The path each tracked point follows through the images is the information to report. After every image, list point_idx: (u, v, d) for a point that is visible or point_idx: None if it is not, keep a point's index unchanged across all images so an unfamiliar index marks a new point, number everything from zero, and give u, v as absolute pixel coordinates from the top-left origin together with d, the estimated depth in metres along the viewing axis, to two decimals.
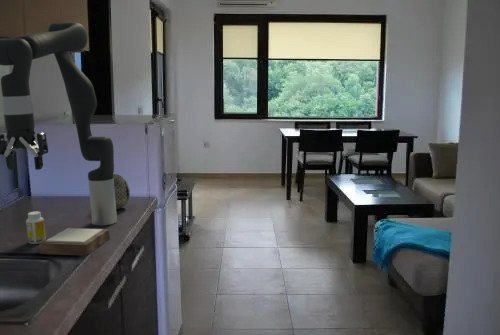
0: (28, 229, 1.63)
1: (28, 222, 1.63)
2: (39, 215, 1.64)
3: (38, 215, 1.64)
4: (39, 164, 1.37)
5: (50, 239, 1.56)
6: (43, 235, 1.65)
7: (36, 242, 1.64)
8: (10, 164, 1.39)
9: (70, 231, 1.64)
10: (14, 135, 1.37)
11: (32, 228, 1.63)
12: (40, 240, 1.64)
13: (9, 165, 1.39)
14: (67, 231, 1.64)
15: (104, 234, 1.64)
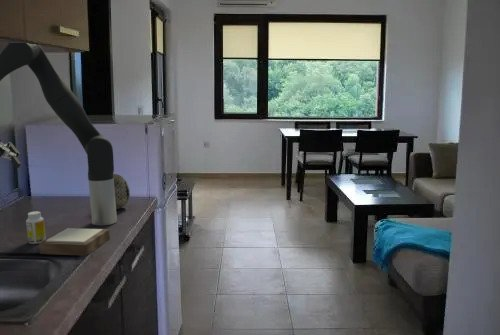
0: (28, 229, 1.63)
1: (28, 222, 1.63)
2: (39, 215, 1.64)
3: (38, 215, 1.64)
4: None
5: (50, 239, 1.56)
6: (43, 235, 1.65)
7: (36, 242, 1.64)
8: (14, 164, 1.71)
9: (70, 231, 1.64)
10: None
11: (32, 228, 1.63)
12: (40, 240, 1.64)
13: None
14: (67, 231, 1.64)
15: (104, 234, 1.64)
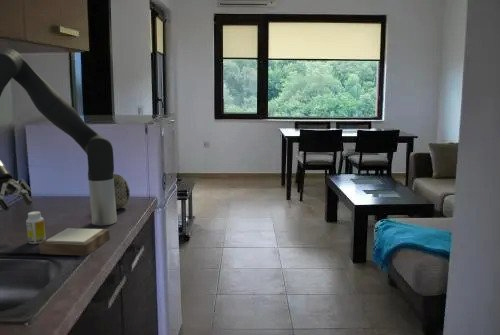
0: (28, 229, 1.63)
1: (28, 222, 1.63)
2: (39, 215, 1.64)
3: (38, 215, 1.64)
4: None
5: (50, 239, 1.56)
6: (43, 235, 1.65)
7: (36, 242, 1.64)
8: None
9: (70, 231, 1.64)
10: None
11: (32, 228, 1.63)
12: (40, 240, 1.64)
13: None
14: (67, 231, 1.64)
15: (104, 234, 1.64)
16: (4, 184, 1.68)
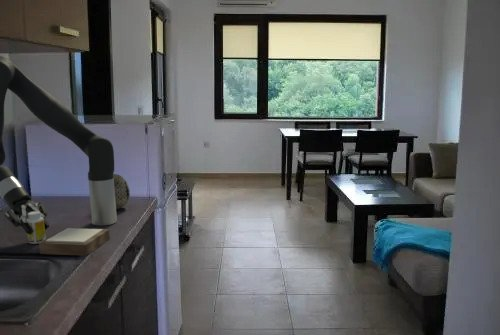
0: None
1: (28, 222, 1.63)
2: (39, 215, 1.64)
3: (38, 215, 1.64)
4: None
5: (50, 239, 1.56)
6: (43, 235, 1.65)
7: (36, 242, 1.64)
8: None
9: (70, 231, 1.64)
10: None
11: (32, 228, 1.63)
12: (40, 240, 1.64)
13: None
14: (67, 231, 1.64)
15: (104, 234, 1.64)
16: (23, 206, 1.65)
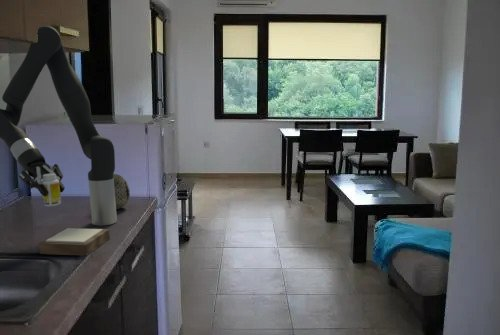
0: None
1: (43, 184, 1.58)
2: (54, 177, 1.59)
3: (53, 177, 1.59)
4: None
5: (50, 239, 1.56)
6: (58, 197, 1.60)
7: (51, 204, 1.59)
8: None
9: (70, 231, 1.64)
10: None
11: None
12: (55, 202, 1.60)
13: None
14: (67, 231, 1.64)
15: (104, 234, 1.64)
16: (38, 168, 1.60)
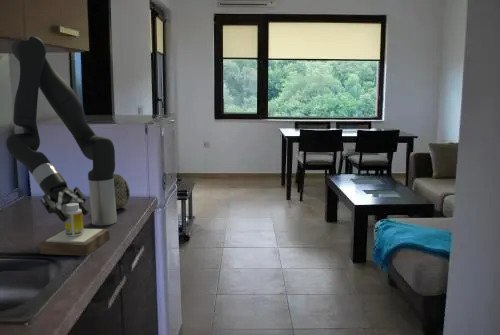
0: (66, 221, 1.57)
1: (66, 214, 1.57)
2: (77, 207, 1.58)
3: (76, 207, 1.58)
4: None
5: (50, 239, 1.56)
6: (81, 227, 1.59)
7: (74, 234, 1.58)
8: None
9: None
10: None
11: (70, 220, 1.57)
12: (78, 233, 1.58)
13: None
14: None
15: (104, 234, 1.64)
16: (60, 193, 1.58)
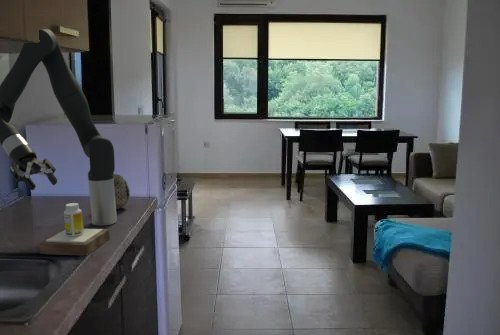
0: (66, 221, 1.57)
1: (66, 214, 1.57)
2: (77, 207, 1.58)
3: (76, 207, 1.58)
4: None
5: (50, 239, 1.56)
6: (81, 227, 1.59)
7: (74, 234, 1.58)
8: (51, 181, 1.68)
9: None
10: None
11: (70, 220, 1.57)
12: (78, 233, 1.58)
13: None
14: None
15: (104, 234, 1.64)
16: (29, 163, 1.64)
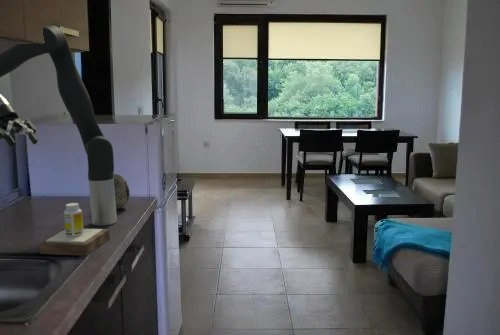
0: (66, 221, 1.57)
1: (66, 214, 1.57)
2: (77, 207, 1.58)
3: (76, 207, 1.58)
4: None
5: (50, 239, 1.56)
6: (81, 227, 1.59)
7: (74, 234, 1.58)
8: (31, 140, 1.73)
9: None
10: None
11: (70, 220, 1.57)
12: (78, 233, 1.58)
13: None
14: None
15: (104, 234, 1.64)
16: (10, 122, 1.69)
